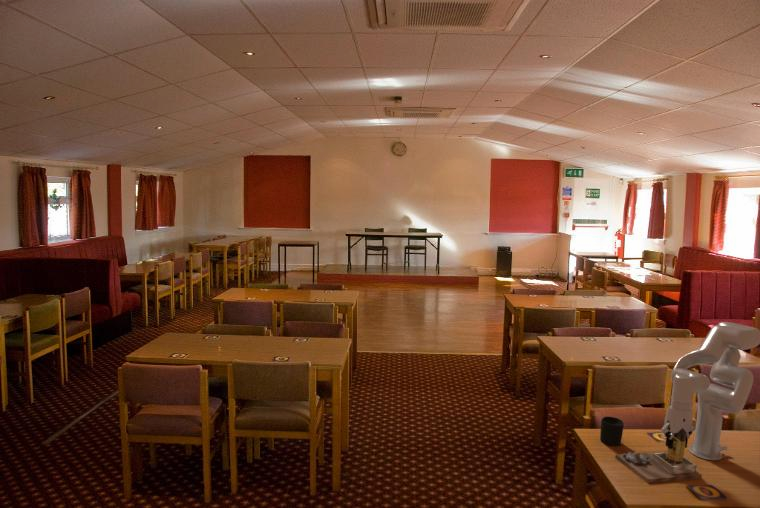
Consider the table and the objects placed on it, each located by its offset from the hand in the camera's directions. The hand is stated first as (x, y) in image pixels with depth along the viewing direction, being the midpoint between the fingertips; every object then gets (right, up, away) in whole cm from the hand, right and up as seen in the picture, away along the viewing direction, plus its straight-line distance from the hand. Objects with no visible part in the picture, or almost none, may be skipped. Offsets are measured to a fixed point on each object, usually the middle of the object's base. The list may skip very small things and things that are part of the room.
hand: (676, 446), depth 228 cm
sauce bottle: (0, -7, +1) cm, 7 cm away
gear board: (-7, -10, +2) cm, 12 cm away
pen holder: (-17, -6, +24) cm, 30 cm away
